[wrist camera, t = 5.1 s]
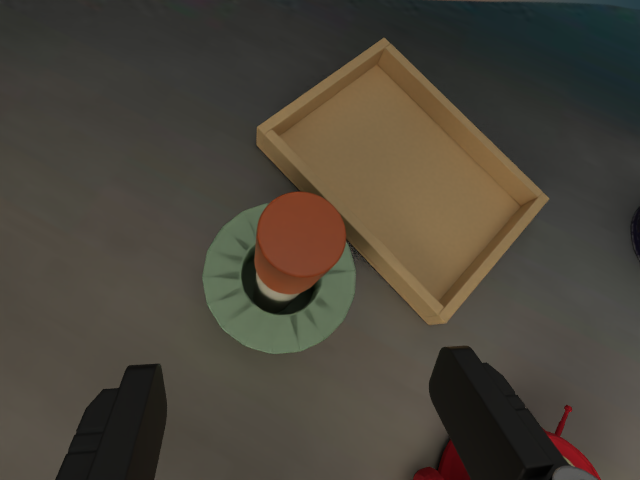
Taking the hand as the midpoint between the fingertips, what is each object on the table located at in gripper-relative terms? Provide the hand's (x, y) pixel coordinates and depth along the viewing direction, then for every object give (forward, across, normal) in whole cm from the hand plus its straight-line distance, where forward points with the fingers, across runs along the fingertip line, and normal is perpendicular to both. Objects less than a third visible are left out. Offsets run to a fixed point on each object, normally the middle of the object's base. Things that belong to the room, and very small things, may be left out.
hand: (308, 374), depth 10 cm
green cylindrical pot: (+14, 0, +8) cm, 16 cm away
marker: (+14, 0, +8) cm, 16 cm away
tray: (+21, -11, +1) cm, 23 cm away
